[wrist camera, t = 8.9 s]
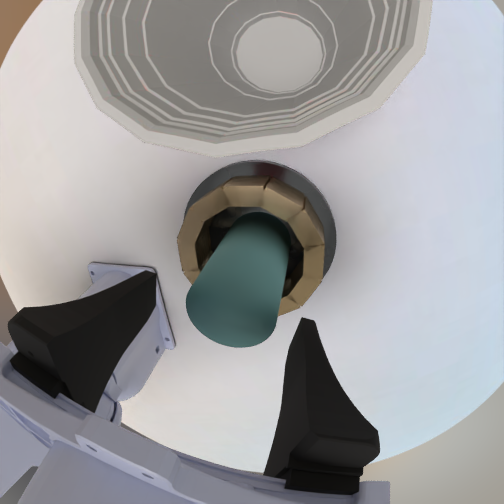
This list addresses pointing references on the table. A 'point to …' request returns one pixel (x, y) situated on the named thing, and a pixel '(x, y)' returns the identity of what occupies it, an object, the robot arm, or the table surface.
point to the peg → (242, 282)
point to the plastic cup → (244, 67)
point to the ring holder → (269, 201)
